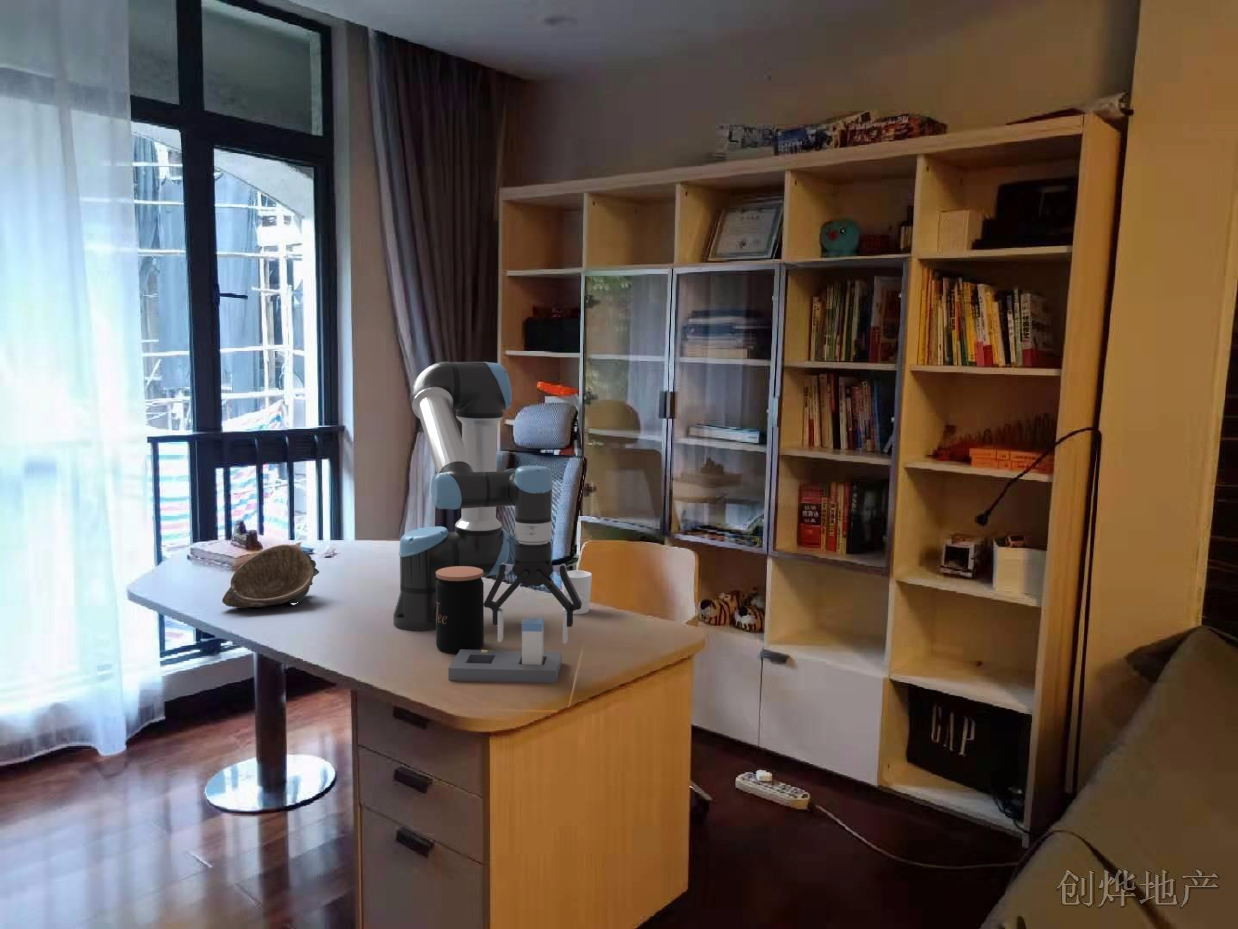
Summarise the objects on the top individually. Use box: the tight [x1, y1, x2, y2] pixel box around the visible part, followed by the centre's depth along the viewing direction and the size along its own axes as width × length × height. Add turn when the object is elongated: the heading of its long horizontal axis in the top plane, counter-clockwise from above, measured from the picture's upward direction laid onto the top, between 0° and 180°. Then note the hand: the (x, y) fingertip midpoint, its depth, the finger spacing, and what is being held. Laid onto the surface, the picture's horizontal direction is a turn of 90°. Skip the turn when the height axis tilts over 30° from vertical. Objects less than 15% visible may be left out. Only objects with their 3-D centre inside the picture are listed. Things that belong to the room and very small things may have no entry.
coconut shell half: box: [221, 544, 320, 609], centre depth 243 cm, size 15×16×25 cm
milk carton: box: [521, 617, 545, 665], centre depth 191 cm, size 4×4×11 cm
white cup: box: [561, 569, 593, 615], centre depth 239 cm, size 8×8×10 cm
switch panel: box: [447, 649, 562, 684], centre depth 192 cm, size 22×12×3 cm, turn 88°
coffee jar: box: [435, 566, 485, 655], centre depth 207 cm, size 11×11×18 cm
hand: (532, 641), depth 191 cm, fingers open, 13 cm apart
